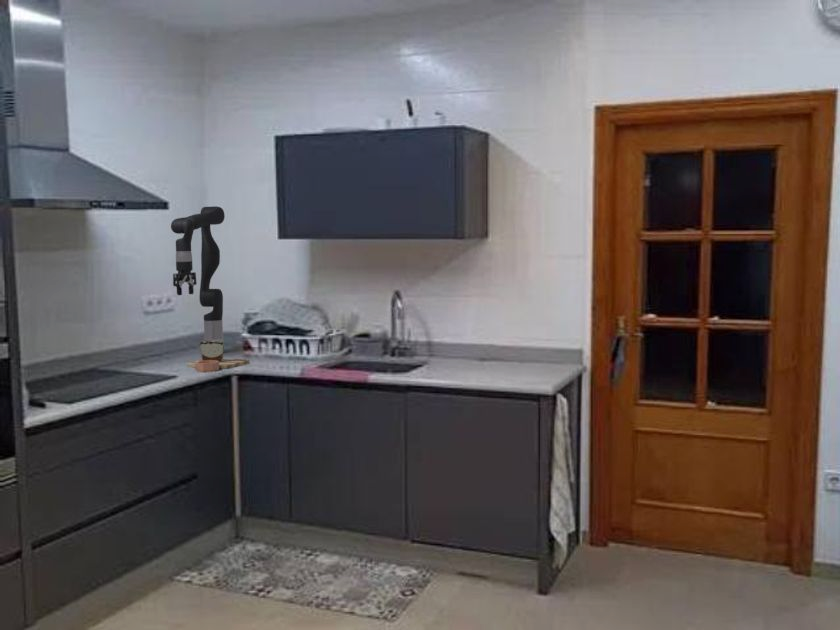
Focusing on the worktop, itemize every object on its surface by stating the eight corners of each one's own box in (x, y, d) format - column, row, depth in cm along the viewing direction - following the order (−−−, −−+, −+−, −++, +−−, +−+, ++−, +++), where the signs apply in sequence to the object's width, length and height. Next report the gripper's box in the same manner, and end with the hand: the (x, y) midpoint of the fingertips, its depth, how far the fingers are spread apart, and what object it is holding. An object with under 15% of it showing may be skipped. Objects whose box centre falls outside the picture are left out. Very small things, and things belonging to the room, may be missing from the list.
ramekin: (205, 368, 372) (204, 359, 372) (223, 369, 368) (223, 360, 368) (191, 371, 363) (190, 363, 363) (209, 373, 359) (209, 364, 359)
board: (210, 361, 394) (210, 357, 394) (249, 363, 386) (249, 359, 385) (186, 366, 377) (186, 362, 377) (226, 368, 369) (226, 364, 369)
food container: (229, 360, 385) (228, 339, 384) (225, 362, 379) (224, 340, 378) (204, 360, 386) (203, 339, 385) (199, 362, 380) (198, 340, 379)
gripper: (180, 261, 383) (182, 295, 384) (199, 260, 396) (201, 293, 398) (167, 261, 386) (169, 295, 387) (187, 260, 399) (188, 293, 400)
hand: (185, 294), depth 392 cm, fingers open, 8 cm apart
